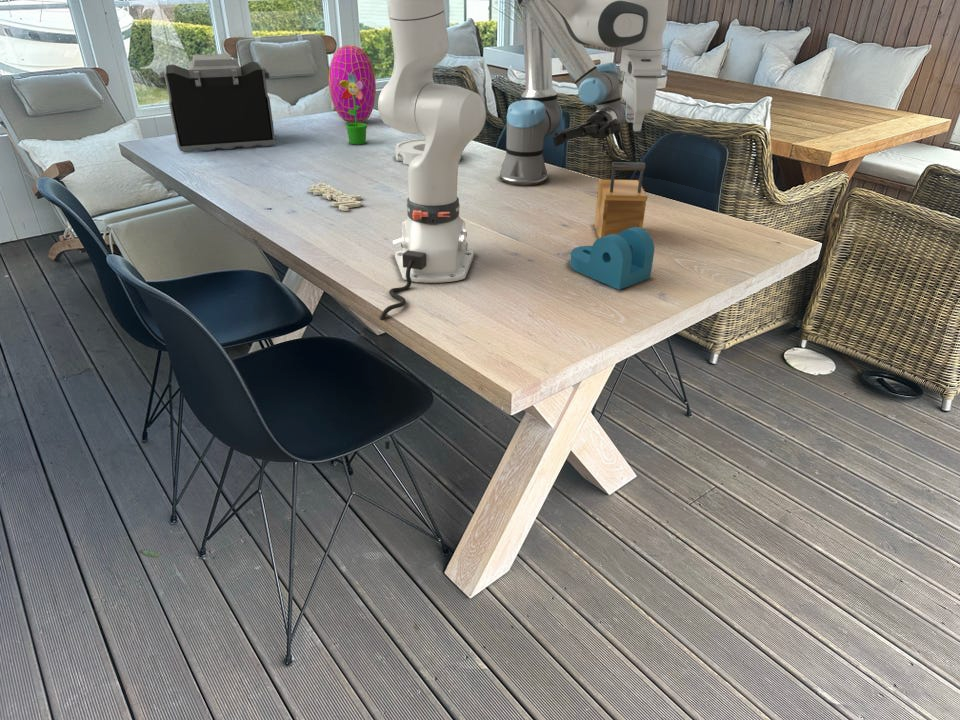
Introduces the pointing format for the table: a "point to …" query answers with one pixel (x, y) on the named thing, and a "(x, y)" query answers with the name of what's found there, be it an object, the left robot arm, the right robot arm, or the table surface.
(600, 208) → the chest
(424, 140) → the ashtray
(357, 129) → the potted flower
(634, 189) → the lid
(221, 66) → the electronic device
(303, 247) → the table surface
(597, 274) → the blue clevis bracket
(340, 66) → the decorative egg
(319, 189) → the decorative sign
